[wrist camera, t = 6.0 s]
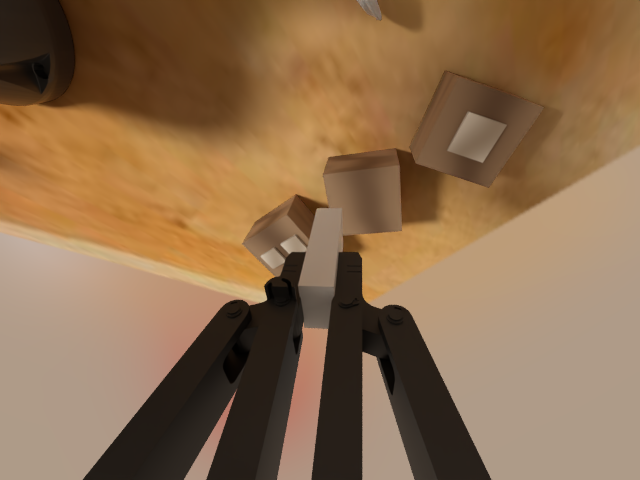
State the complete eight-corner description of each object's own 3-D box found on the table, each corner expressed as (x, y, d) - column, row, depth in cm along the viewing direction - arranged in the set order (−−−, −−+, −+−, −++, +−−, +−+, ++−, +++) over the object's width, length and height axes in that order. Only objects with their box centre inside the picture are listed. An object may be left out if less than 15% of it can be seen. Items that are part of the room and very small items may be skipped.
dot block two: (290, 258, 41) (281, 284, 36) (255, 221, 38) (241, 245, 34) (331, 235, 38) (326, 261, 33) (296, 193, 35) (286, 216, 31)
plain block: (338, 213, 36) (334, 236, 32) (328, 156, 32) (322, 174, 28) (398, 207, 34) (401, 230, 30) (395, 147, 30) (399, 165, 26)
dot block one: (409, 145, 30) (415, 164, 26) (444, 70, 26) (459, 77, 22) (473, 167, 31) (490, 189, 26) (517, 96, 26) (546, 107, 22)
